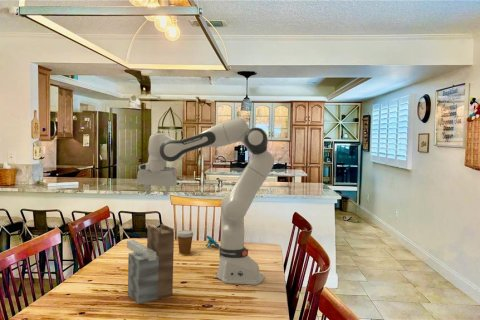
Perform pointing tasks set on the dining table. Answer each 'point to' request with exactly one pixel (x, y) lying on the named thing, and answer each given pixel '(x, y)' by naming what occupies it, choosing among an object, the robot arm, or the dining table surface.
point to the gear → (211, 242)
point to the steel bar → (141, 250)
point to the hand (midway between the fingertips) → (156, 194)
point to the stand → (153, 267)
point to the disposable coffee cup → (185, 241)
